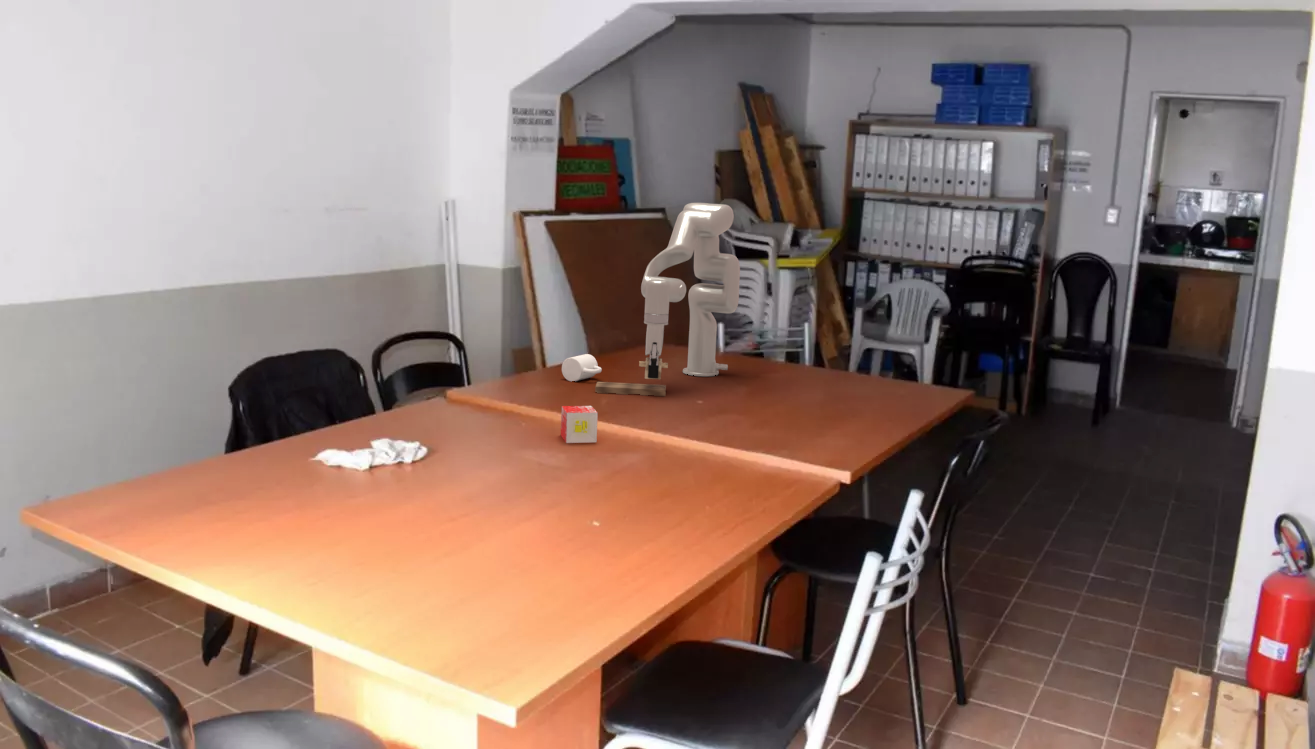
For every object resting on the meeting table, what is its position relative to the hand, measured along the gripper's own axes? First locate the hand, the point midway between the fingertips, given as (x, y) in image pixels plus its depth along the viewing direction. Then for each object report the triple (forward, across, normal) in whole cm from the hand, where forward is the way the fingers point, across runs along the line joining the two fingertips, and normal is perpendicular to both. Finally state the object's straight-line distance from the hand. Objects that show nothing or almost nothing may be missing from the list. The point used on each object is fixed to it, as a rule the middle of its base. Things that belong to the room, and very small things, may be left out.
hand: (653, 376), depth 341 cm
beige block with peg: (+1, 0, 0) cm, 1 cm away
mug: (+6, -16, -23) cm, 29 cm away
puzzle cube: (+7, +63, -18) cm, 65 cm away
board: (+6, 0, -7) cm, 9 cm away
